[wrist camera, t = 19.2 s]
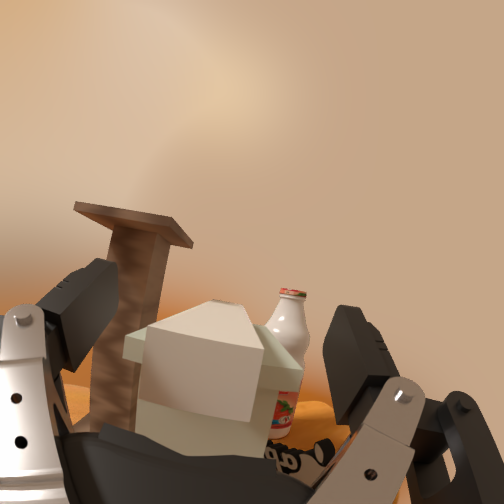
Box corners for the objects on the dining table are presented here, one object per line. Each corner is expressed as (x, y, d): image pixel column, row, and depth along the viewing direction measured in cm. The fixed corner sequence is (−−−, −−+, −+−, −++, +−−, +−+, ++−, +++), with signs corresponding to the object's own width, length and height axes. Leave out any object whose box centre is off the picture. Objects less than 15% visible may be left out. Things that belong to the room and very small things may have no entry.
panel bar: (137, 398, 8) (147, 325, 8) (210, 319, 36) (213, 299, 36) (249, 422, 8) (264, 349, 9) (238, 324, 36) (242, 304, 36)
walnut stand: (53, 450, 24) (75, 201, 29) (98, 412, 40) (123, 229, 45) (136, 484, 25) (171, 217, 29) (163, 432, 41) (193, 242, 45)
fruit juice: (295, 427, 52) (323, 295, 56) (279, 444, 44) (312, 291, 48) (253, 415, 56) (278, 288, 60) (232, 428, 48) (260, 283, 52)
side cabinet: (122, 547, 14) (125, 335, 16) (166, 447, 36) (185, 311, 39) (242, 570, 14) (303, 370, 17) (238, 460, 37) (265, 326, 40)
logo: (345, 508, 24) (355, 443, 28) (335, 514, 23) (345, 448, 26) (241, 465, 40) (243, 415, 43) (230, 468, 39) (232, 416, 42)
